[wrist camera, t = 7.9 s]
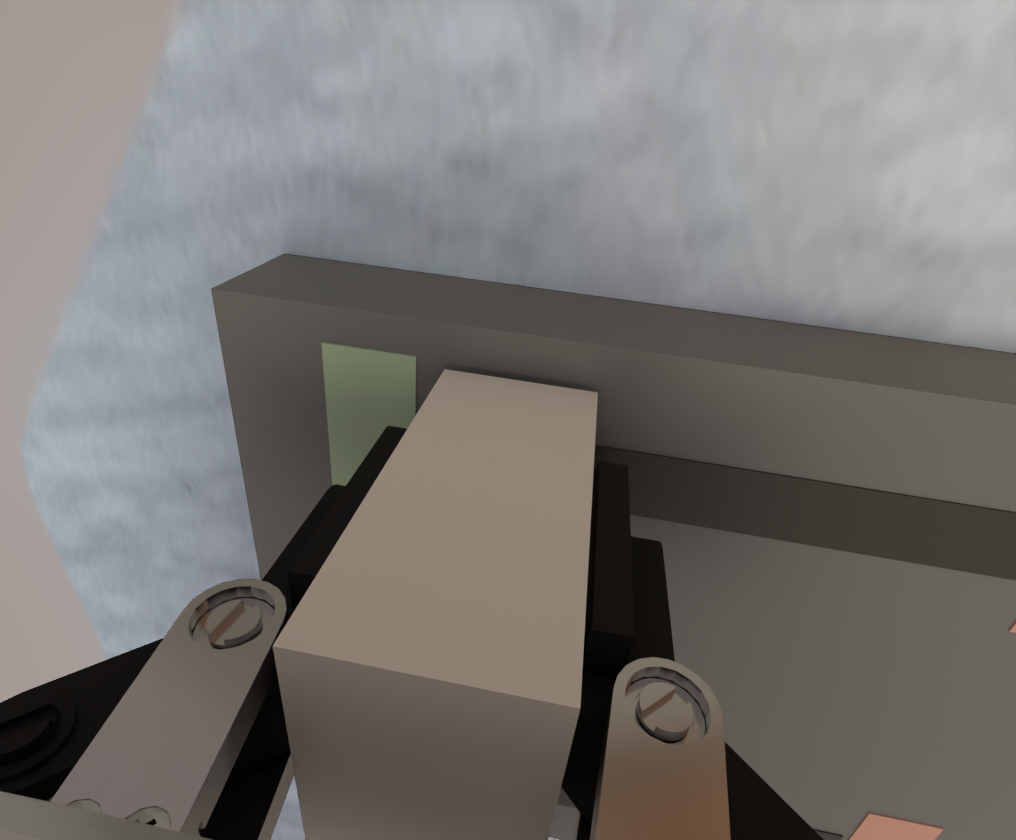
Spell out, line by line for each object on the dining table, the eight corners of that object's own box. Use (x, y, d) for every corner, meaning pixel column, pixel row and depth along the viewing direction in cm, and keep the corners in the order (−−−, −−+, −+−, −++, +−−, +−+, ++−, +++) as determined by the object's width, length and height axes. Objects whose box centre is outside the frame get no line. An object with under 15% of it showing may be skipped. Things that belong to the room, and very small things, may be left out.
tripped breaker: (565, 563, 13) (528, 916, 8) (438, 539, 13) (309, 863, 8) (597, 392, 11) (580, 708, 5) (444, 369, 11) (271, 645, 6)
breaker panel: (902, 824, 21) (944, 927, 19) (330, 703, 23) (294, 780, 21) (1269, 388, 12) (1448, 468, 10) (284, 254, 14) (209, 289, 12)
